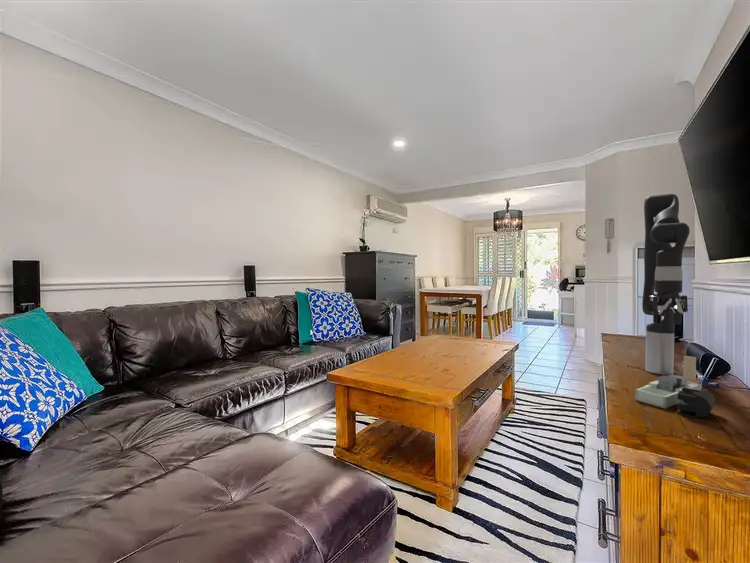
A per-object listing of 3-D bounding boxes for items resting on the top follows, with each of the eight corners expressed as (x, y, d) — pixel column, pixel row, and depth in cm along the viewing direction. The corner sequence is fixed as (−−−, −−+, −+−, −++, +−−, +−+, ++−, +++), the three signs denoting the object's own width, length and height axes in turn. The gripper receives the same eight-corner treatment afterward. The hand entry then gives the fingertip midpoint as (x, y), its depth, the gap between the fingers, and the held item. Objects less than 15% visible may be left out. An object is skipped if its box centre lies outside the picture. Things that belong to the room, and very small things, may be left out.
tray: (650, 395, 116) (650, 384, 116) (680, 402, 109) (680, 391, 109) (635, 400, 111) (635, 389, 110) (665, 408, 104) (665, 397, 104)
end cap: (710, 422, 94) (711, 398, 94) (676, 414, 100) (677, 391, 100) (715, 413, 100) (716, 390, 100) (683, 406, 106) (683, 384, 106)
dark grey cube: (663, 386, 117) (663, 375, 117) (678, 390, 113) (678, 378, 113) (658, 388, 115) (658, 376, 115) (672, 392, 111) (673, 380, 111)
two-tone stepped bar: (683, 387, 124) (684, 355, 124) (698, 391, 121) (699, 357, 120) (679, 389, 122) (680, 356, 122) (694, 392, 119) (695, 358, 119)
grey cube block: (671, 385, 118) (672, 374, 118) (686, 389, 115) (686, 377, 115) (666, 387, 116) (666, 375, 116) (681, 390, 113) (681, 378, 113)
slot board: (663, 386, 125) (663, 376, 125) (707, 397, 114) (707, 385, 114) (643, 393, 117) (643, 381, 117) (688, 404, 107) (688, 392, 107)
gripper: (673, 279, 126) (673, 322, 127) (641, 279, 124) (640, 323, 124) (696, 279, 119) (695, 325, 119) (662, 279, 116) (661, 326, 117)
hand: (667, 324), depth 122 cm, fingers open, 8 cm apart
